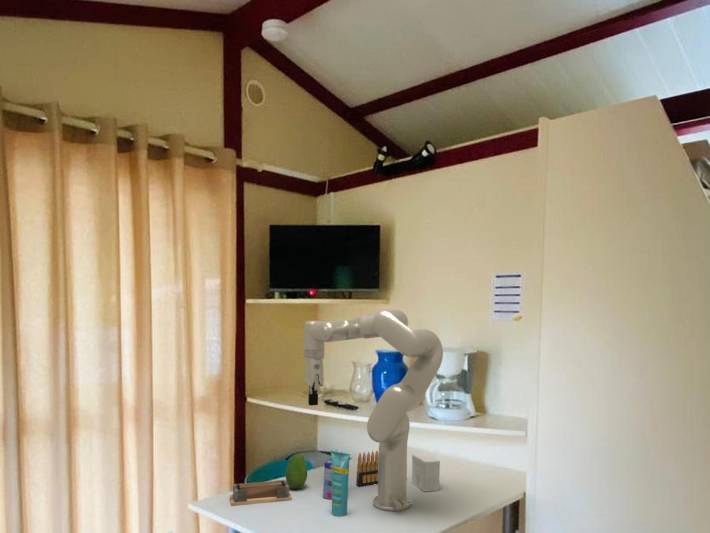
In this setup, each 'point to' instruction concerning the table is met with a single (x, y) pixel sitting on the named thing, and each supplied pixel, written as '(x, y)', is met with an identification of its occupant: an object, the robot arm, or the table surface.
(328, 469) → the ink cartridge box
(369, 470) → the ammunition clip
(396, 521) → the table surface
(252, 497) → the slat
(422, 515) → the table surface
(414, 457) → the skincare box
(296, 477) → the avocado
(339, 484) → the tube
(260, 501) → the rail
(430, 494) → the table surface
